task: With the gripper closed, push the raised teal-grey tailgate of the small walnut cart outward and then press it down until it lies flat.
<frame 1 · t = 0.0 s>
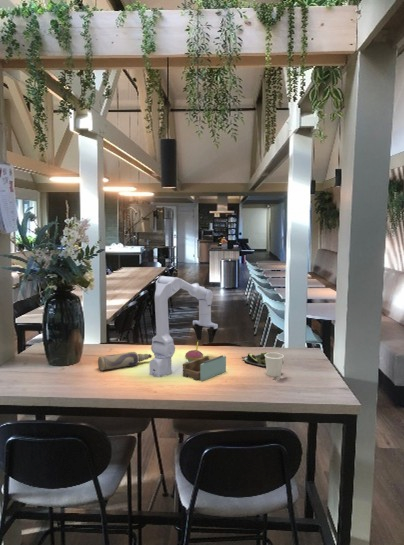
hand: (205, 341, 213), 10 cm above the table, tool pointing down, fingers open, 7 cm apart
salad plate: (262, 363, 212), on the table
dixie cup: (273, 378, 190), on the table
decorative bottle: (125, 367, 206), on the table
cupcake: (194, 365, 208), on the table
tailgate: (213, 367, 187), point 5 cm above the table, hinge at 0.0°
cart bed: (203, 376, 192), on the table
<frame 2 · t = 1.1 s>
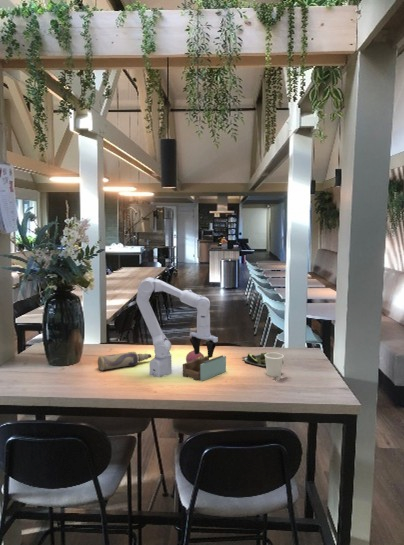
hand: (203, 355, 191), 9 cm above the table, tool pointing down, fingers open, 7 cm apart
cupcake: (193, 361, 206), point 2 cm above the table, touching cart bed
everything else where it was.
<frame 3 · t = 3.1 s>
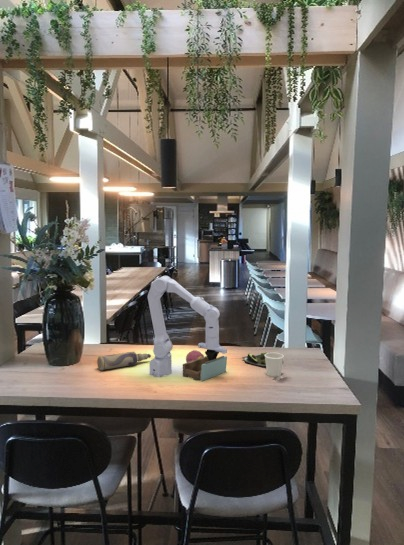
hand: (212, 366, 188), 5 cm above the table, tool pointing down, fingers closed, pressing on tailgate
tailgate: (214, 367, 187), point 5 cm above the table, hinge at 5.4°, touching gripper
everything else where it was.
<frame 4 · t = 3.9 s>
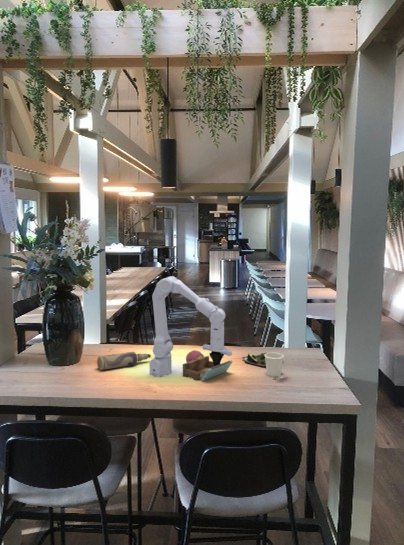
hand: (216, 368, 186), 5 cm above the table, tool pointing down, fingers closed, pressing on tailgate
tailgate: (217, 370, 186), point 5 cm above the table, hinge at 34.5°, touching gripper
everything else where it was.
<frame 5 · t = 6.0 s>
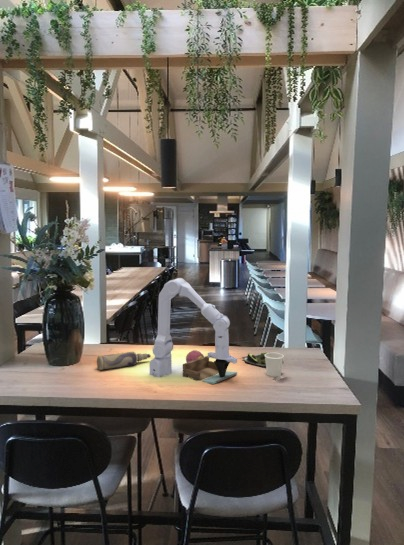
hand: (222, 376, 185), 2 cm above the table, tool pointing down, fingers closed, pressing on tailgate
tailgate: (220, 377, 185), point 2 cm above the table, hinge at 80.5°, touching gripper
everything else where it was.
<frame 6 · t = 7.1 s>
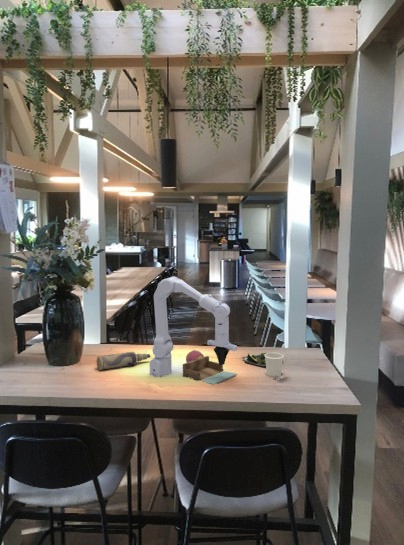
hand: (221, 364, 184), 8 cm above the table, tool pointing down, fingers closed
tailgate: (220, 378, 186), point 1 cm above the table, hinge at 86.5°
everything else where it was.
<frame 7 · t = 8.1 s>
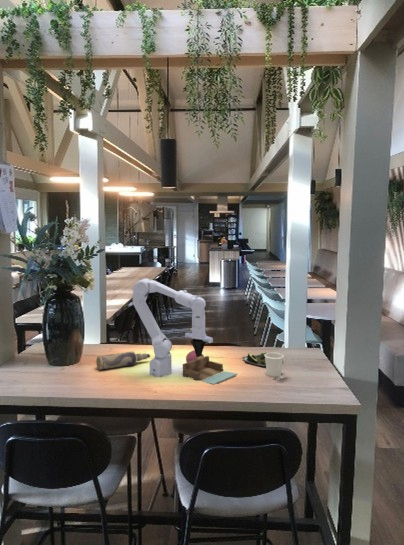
hand: (198, 356, 190), 9 cm above the table, tool pointing down, fingers closed
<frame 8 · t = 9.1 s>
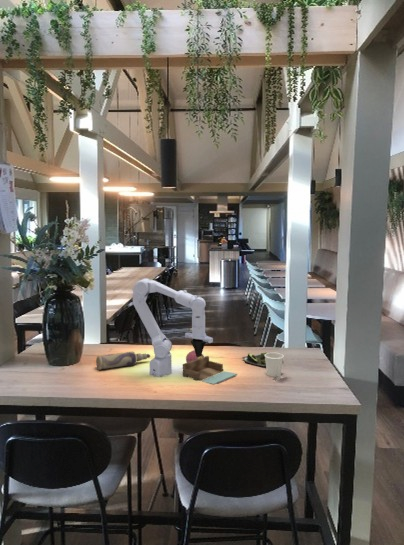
hand: (198, 356, 190), 9 cm above the table, tool pointing down, fingers closed
at the end: tailgate at +86° (first picture: +0°); cupcake moved 2.4 cm from its start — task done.
